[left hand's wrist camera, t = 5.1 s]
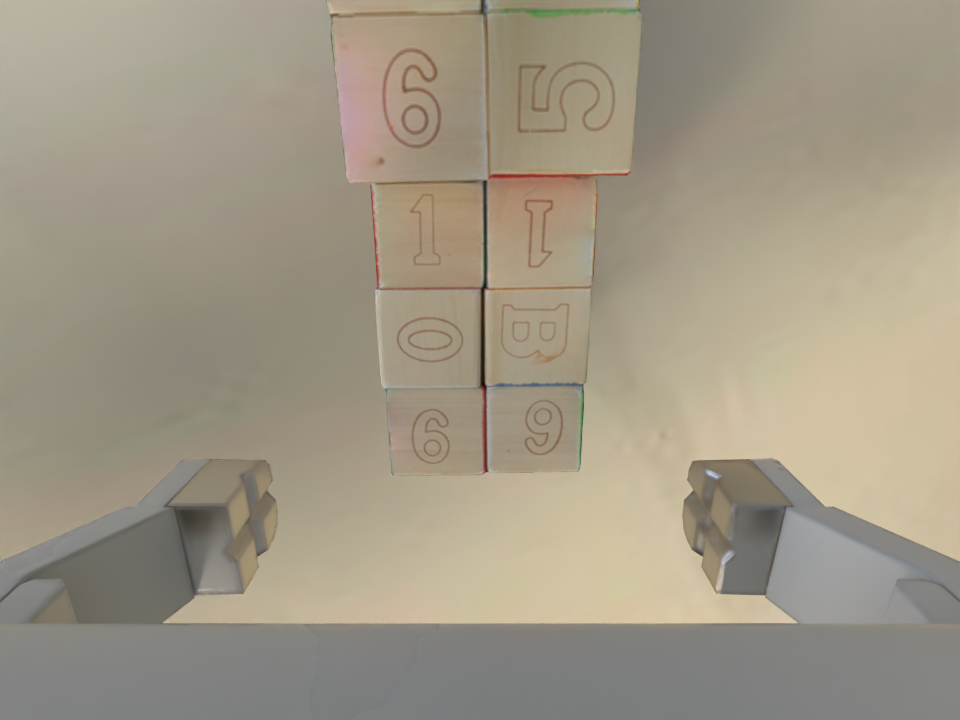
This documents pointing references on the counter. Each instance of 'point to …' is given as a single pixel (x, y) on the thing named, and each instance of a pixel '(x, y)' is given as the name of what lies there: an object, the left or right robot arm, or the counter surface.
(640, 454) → the counter surface
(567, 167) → the stack of blocks
